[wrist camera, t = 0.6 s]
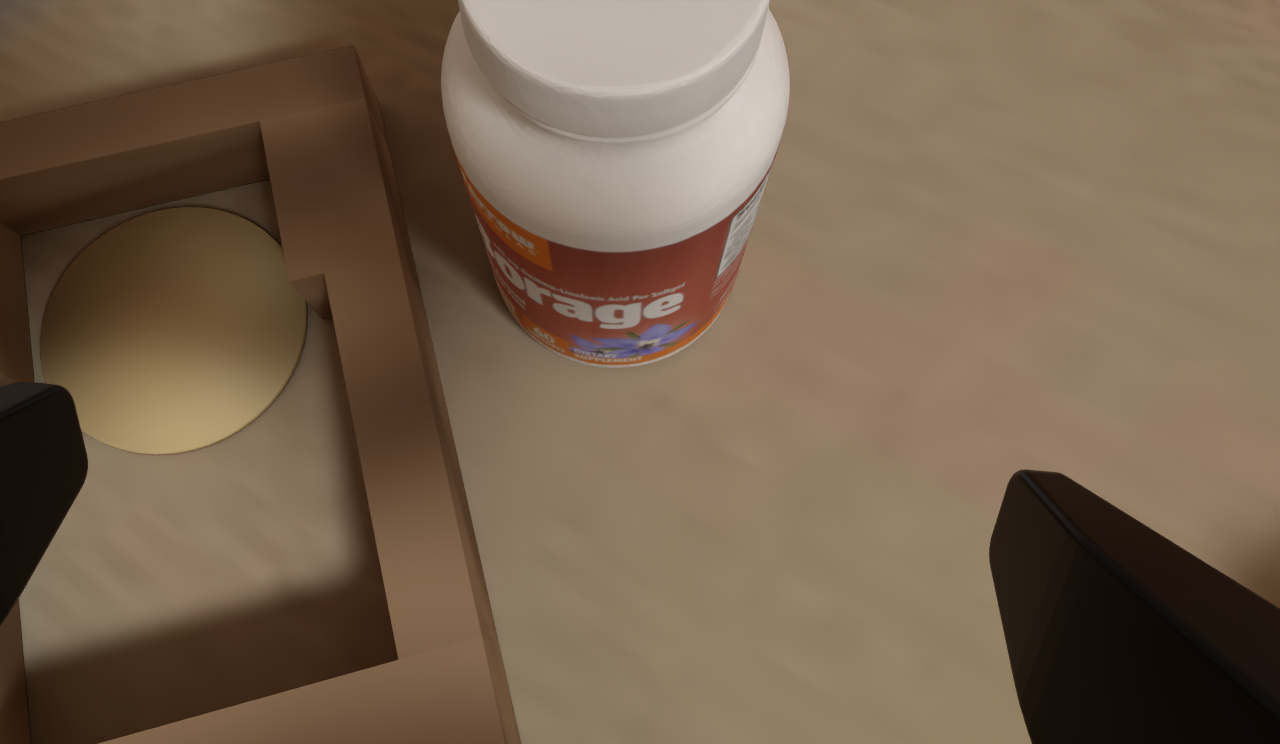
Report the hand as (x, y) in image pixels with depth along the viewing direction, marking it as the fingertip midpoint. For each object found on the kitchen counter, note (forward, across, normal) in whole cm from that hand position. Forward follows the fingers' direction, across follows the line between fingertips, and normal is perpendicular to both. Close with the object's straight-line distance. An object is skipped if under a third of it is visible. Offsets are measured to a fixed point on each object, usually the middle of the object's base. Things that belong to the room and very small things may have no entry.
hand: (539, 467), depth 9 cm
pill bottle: (+15, 0, +4) cm, 16 cm away
